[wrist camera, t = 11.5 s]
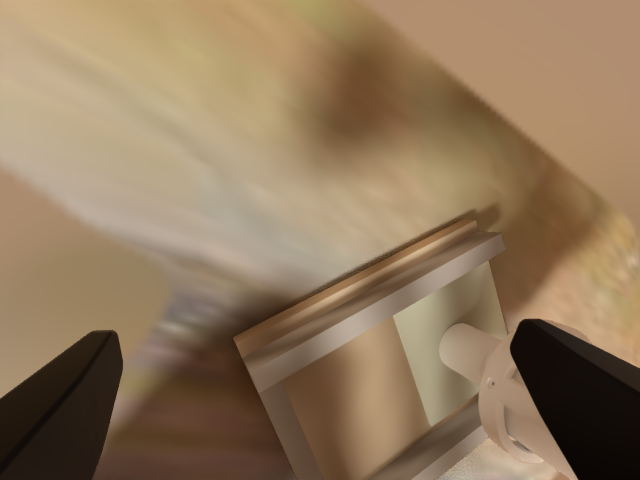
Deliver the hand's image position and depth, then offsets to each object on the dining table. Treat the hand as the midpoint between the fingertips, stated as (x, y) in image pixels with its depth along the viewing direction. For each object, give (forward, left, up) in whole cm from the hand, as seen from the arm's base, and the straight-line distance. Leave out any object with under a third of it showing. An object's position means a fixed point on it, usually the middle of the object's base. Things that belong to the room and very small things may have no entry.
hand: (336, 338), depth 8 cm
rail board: (-8, -10, -13) cm, 18 cm away
